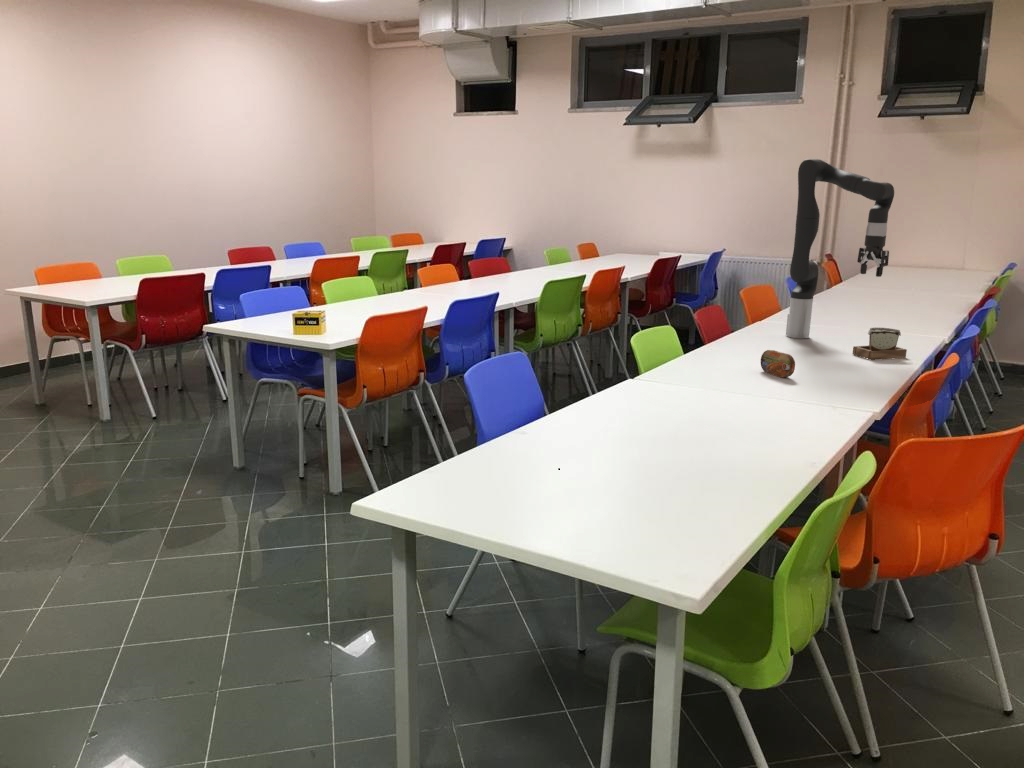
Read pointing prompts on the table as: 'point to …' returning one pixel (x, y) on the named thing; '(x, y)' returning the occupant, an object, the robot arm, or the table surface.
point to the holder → (879, 353)
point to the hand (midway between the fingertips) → (870, 275)
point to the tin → (777, 363)
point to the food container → (883, 339)
